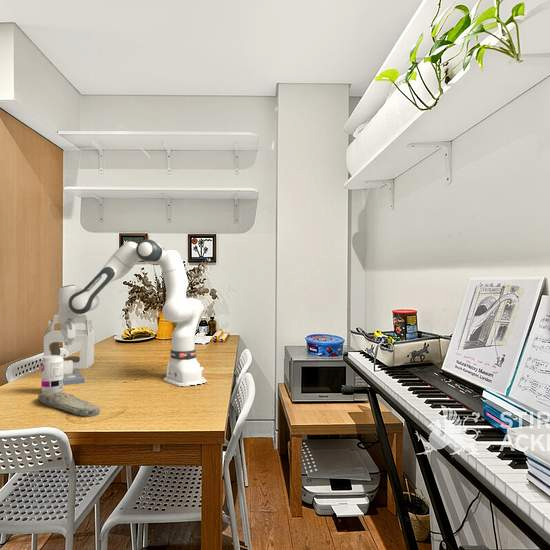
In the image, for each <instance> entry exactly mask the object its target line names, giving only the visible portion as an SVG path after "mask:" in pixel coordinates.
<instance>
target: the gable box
mask: <svg viewBox="0 0 550 550" xmlns="http://www.w3.org/2000/svg"><path fill="white" fill-rule="evenodd" d="M56 324H60V323H59V322H58V314H54V315H53V318H52V320H48V327H47V329H46V331H45V333H44V335H43V358H44V357H45V356H50V355H61V347H60V345H59V343H64V344H65V341H64V336H63V335H62V334H61V329H59V330H58V329H55V325H56ZM75 324H84V325H85V329H75V339H73V342H72V344H75V343H79V344H81V346H82V347H81V349H80V352H79V356H76V355H75V356H74V355H71V356H68V357H62V358H63V359H64V361H69V360H72V361H73V369H77V370H79V369H80V370H83V369H88V368H90V367H91V366H92V365H93V364H94V363H95V331H94V328H93V325H92V320H90V319H88V317H87V315H86V314H78V322H75Z"/></svg>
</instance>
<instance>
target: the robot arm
mask: <svg viewBox="0 0 550 550" xmlns="http://www.w3.org/2000/svg"><path fill="white" fill-rule="evenodd" d="M141 261H142V262H145V264H146V263H147V264H149V265H152V266H159V267H160V269H161V273H162V277H163V281H164V285H165V290H166V291H165V293H166V294H165V295H166V298H165V302H164V305H163V306H162V310H161V313H162V316H163V318H164V319H165V320H166V321H167V322H170V323H176V325H175V329H174V330H173V331H172V333H171V349H170V353H169V354H170V359H169V361H168V362H167V364H166V365H167V367H166V377H164V378H163V382H167V383H169V384H172V385H174V386H177V387H181V386H183V387H191V386H190V385H195V386H198V385H197V384H201V385H203V384H202V383H205V382H207V383H208V381H207V380H208V379H206V378H205V377H204V376H203V372H204V367H203V366H201V364H200V362H199V361H198V359H197V352H196V348H195V346H196V345H195V343H196V331H197V327H198V323H199V320H200V317H201V316H202V315H203V313H204V311H205V310H204V309H205V308H204V304H203V303H202V301H201V300H200V299H198V298H193V297H187V290H188V288H189V286H190V285H189V284H190V283H189V280H188V276H187V271H186V267H185V265H184V262H183V259H182V257H181V255H180V253H179V252H178V251H177V250H174V249H168V250H165V248H164V247H163V246H162V245H160V243H158V242H156V241H154V240H152V239H143V240H140V241H139V242H138V243H136V242H134V241H126V242H125V243H124V244H122V245H121V246H120V247H119V248H118V249H117V250H116V251H114V253H113V254H112V255H111V257H110V258H109V259H108V260H107V261H106V263H105V264H104V266H103V267H102V268H101V270H100V271H99V272H98V273H97V274H96V276H94V278H93V279H92V280H90V282H89V283H88V284H87V285H86V286H85V287H84V288H80V287H79V286H78V285H76V284H70V285H65V286H61V287H60V288H59V289H58V295H57V296H58V298H57V303H58V310H57V311H58V312H57V315H58V322H59V323H58V324H60V330H61V334H62V335H63V336H64V341H65V343H64V346H67V349H72V348H73V343H72V342H73V339H75V330H76V323H75V322H78V315H85V314H86V313H88V312H90V311H94V310H96V309H97V308H98V306H99V304H100V299H99V296H98V295H99V293H100V292H101V291H102V290H103V289H105V287H106V286H108V285H109V284H111V283H112V282H114V281H117V280H119V279H122V278H123V277H124V276H125V275H127V274H128V273H130V271H131V270H132V269H133V268H134V266H135V265H137V263H139V262H141ZM205 384H206V383H205Z"/></svg>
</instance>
